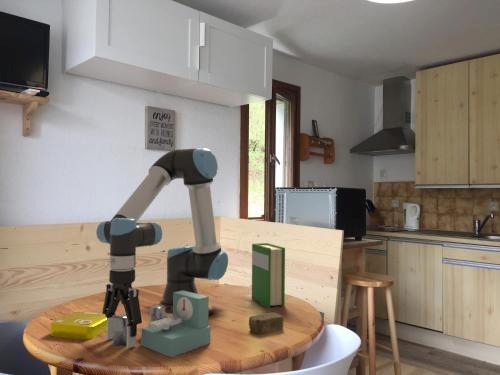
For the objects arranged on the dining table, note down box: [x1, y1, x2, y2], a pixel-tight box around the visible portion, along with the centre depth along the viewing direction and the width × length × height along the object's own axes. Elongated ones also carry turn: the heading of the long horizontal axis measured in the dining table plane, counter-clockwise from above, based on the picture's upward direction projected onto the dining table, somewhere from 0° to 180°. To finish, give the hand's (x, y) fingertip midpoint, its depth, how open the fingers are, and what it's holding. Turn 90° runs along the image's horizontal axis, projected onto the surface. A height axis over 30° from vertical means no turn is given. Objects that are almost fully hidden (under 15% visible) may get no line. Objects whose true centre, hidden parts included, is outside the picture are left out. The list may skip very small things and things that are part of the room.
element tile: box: [49, 311, 107, 340], centre depth 137 cm, size 15×15×5 cm
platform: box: [148, 315, 182, 332], centre depth 122 cm, size 9×4×3 cm, turn 140°
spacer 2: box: [149, 304, 166, 322], centre depth 137 cm, size 5×5×8 cm
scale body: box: [141, 291, 211, 358], centre depth 125 cm, size 15×14×14 cm
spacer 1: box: [112, 313, 129, 347], centre depth 126 cm, size 5×5×8 cm
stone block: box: [248, 311, 284, 335], centre depth 140 cm, size 6×12×5 cm, turn 124°
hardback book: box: [251, 242, 286, 309], centre depth 177 cm, size 18×7×24 cm, turn 22°
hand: (120, 342), depth 125 cm, fingers open, 10 cm apart
